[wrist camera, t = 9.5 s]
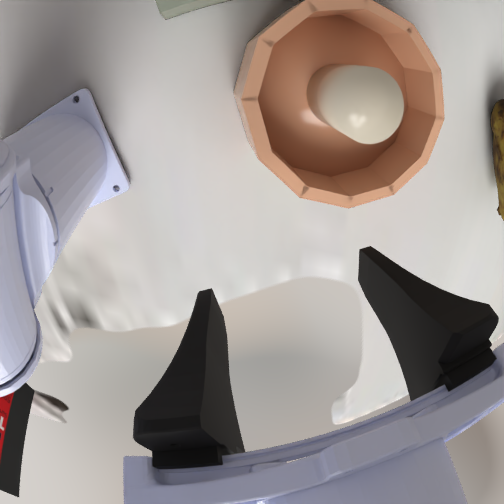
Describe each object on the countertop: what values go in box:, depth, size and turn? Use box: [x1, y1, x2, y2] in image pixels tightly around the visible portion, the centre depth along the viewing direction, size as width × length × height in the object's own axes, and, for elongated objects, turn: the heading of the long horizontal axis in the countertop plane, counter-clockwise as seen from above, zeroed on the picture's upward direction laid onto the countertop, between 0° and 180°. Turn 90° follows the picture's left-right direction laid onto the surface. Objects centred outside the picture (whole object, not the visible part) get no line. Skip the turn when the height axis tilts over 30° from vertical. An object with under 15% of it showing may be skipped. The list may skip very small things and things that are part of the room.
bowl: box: [233, 0, 444, 208], centre depth 16 cm, size 13×13×4 cm
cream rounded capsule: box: [306, 64, 404, 144], centre depth 15 cm, size 4×4×4 cm
